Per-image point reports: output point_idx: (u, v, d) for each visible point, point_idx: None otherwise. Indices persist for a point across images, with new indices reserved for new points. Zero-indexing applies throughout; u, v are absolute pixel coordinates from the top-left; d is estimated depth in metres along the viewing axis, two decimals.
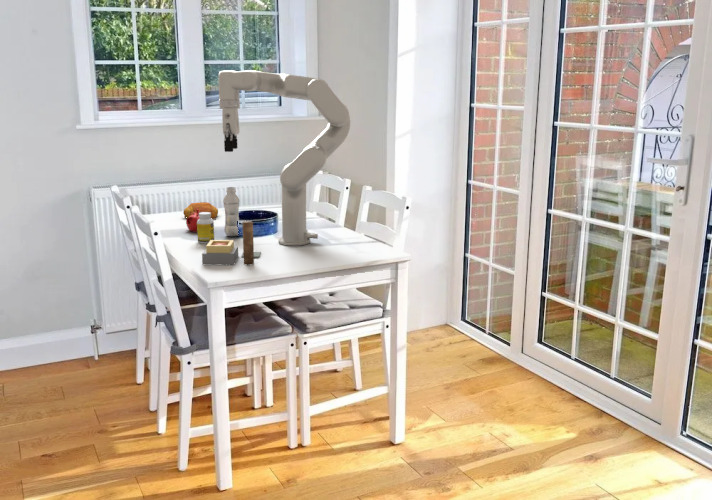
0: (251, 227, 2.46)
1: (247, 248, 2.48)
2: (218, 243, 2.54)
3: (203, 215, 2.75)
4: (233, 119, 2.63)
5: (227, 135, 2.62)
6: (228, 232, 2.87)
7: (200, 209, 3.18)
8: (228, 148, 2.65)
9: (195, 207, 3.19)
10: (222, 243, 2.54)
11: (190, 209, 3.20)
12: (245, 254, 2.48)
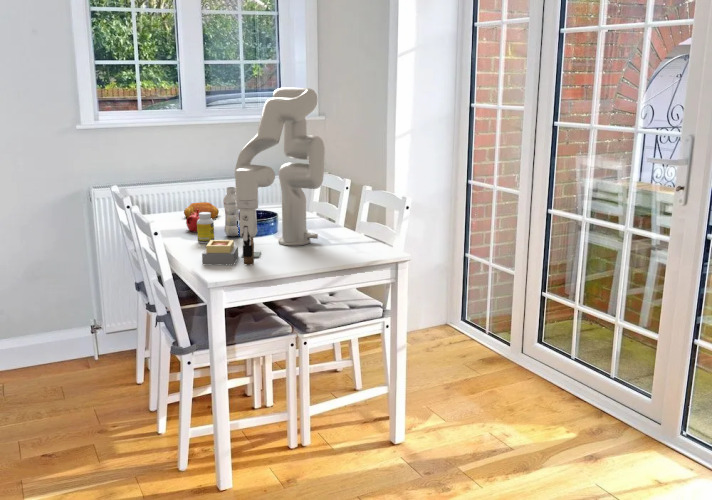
0: None
1: None
2: (218, 243, 2.54)
3: (203, 215, 2.75)
4: (251, 221, 2.42)
5: (246, 242, 2.44)
6: (228, 232, 2.87)
7: (200, 209, 3.19)
8: (247, 253, 2.47)
9: (195, 207, 3.20)
10: (222, 243, 2.54)
11: (190, 209, 3.20)
12: None
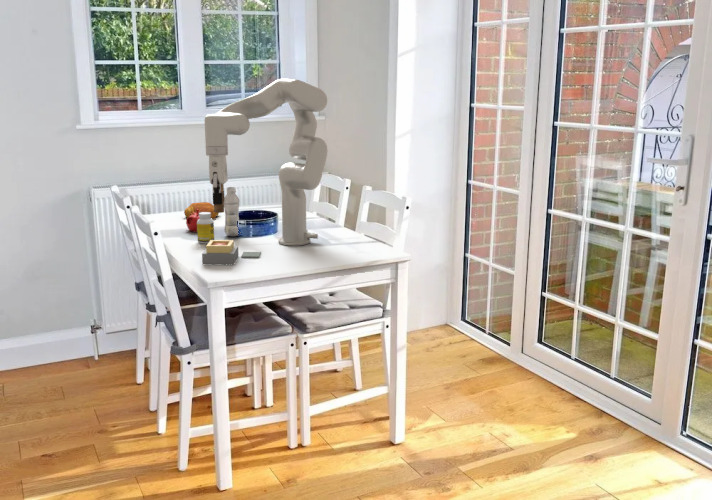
0: None
1: None
2: (218, 243, 2.54)
3: (203, 215, 2.75)
4: (221, 167, 2.41)
5: (216, 189, 2.42)
6: (228, 232, 2.87)
7: (201, 209, 3.19)
8: (217, 201, 2.45)
9: (196, 207, 3.20)
10: (222, 243, 2.54)
11: (191, 209, 3.20)
12: None
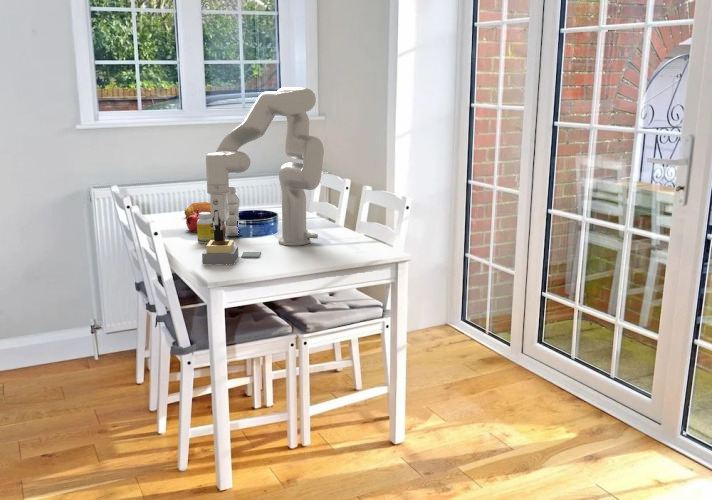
0: None
1: None
2: None
3: (203, 215, 2.75)
4: (222, 205, 2.44)
5: (217, 226, 2.46)
6: (228, 232, 2.87)
7: (201, 209, 3.19)
8: (218, 238, 2.49)
9: (196, 207, 3.20)
10: None
11: (191, 209, 3.20)
12: None
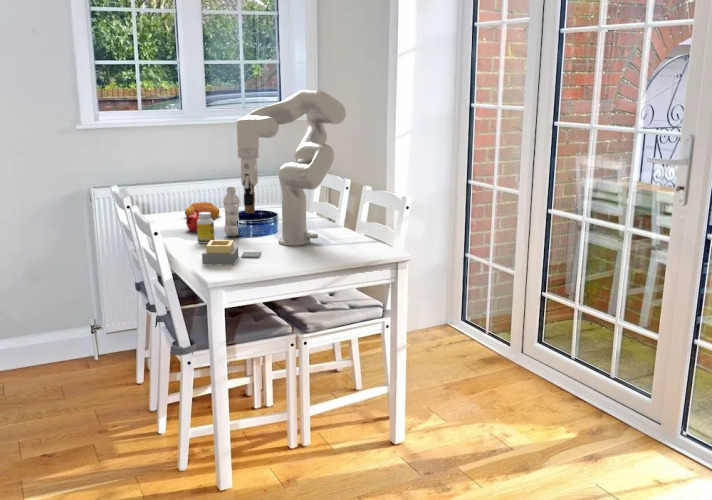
0: None
1: None
2: None
3: (203, 215, 2.75)
4: (252, 169, 2.48)
5: (247, 190, 2.50)
6: (228, 232, 2.87)
7: (201, 209, 3.19)
8: (248, 202, 2.53)
9: (196, 207, 3.20)
10: None
11: (191, 209, 3.20)
12: None
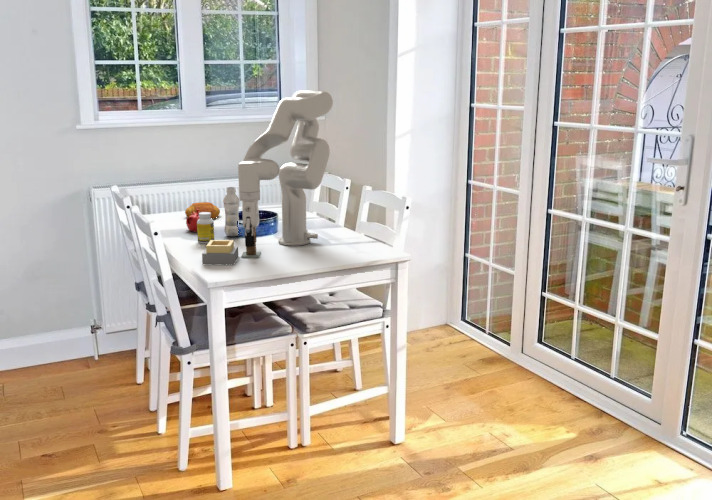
0: None
1: None
2: None
3: (203, 215, 2.75)
4: (254, 212, 2.52)
5: (248, 232, 2.52)
6: (228, 232, 2.87)
7: (202, 209, 3.19)
8: (249, 243, 2.56)
9: (197, 207, 3.20)
10: None
11: (192, 209, 3.21)
12: None
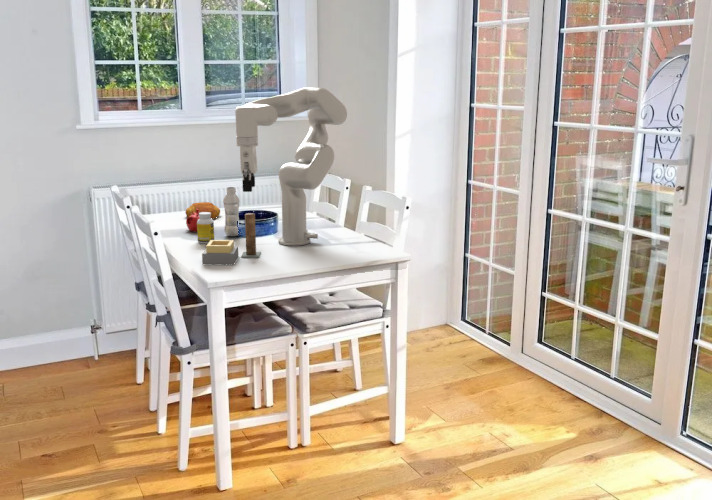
0: (253, 219, 2.56)
1: (249, 240, 2.58)
2: None
3: (203, 215, 2.75)
4: (252, 157, 2.48)
5: (246, 175, 2.46)
6: (228, 232, 2.87)
7: (202, 209, 3.19)
8: (247, 188, 2.50)
9: (197, 207, 3.20)
10: None
11: (192, 209, 3.21)
12: (247, 245, 2.58)
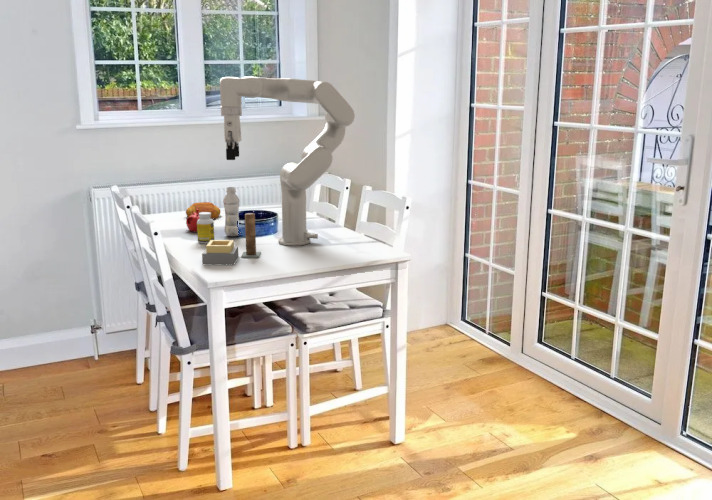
0: (253, 219, 2.57)
1: (249, 239, 2.58)
2: None
3: (203, 215, 2.75)
4: (235, 127, 2.57)
5: (229, 143, 2.55)
6: (228, 232, 2.87)
7: (202, 209, 3.19)
8: (230, 156, 2.58)
9: (197, 207, 3.20)
10: None
11: (192, 209, 3.21)
12: (247, 245, 2.58)
